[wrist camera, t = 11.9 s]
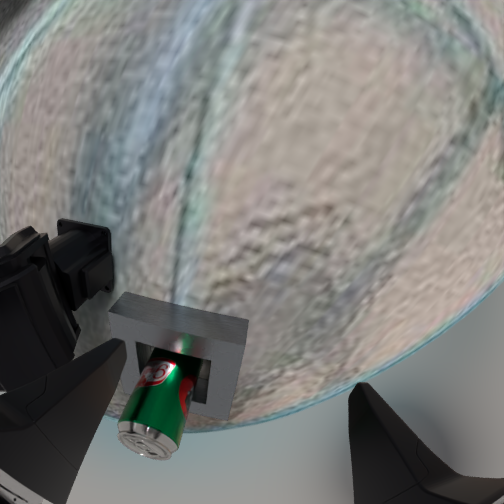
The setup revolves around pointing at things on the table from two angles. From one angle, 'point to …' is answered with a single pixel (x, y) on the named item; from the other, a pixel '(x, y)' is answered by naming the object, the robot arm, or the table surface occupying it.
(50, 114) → the table surface
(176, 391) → the soda can
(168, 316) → the sleeve block
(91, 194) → the table surface
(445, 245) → the table surface
